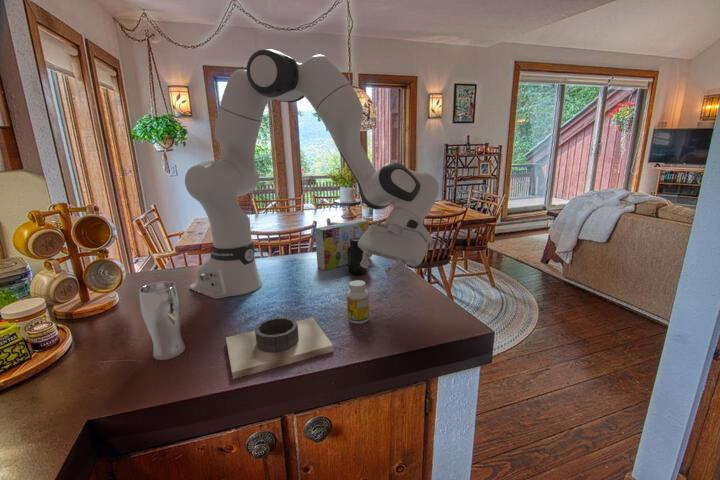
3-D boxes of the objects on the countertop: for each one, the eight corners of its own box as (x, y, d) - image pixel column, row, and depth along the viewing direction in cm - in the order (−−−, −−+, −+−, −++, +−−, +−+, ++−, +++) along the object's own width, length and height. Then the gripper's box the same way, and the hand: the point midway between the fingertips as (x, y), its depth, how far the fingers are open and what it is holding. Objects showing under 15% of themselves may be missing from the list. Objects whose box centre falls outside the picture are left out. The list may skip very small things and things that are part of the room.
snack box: (361, 255, 139) (360, 218, 135) (370, 258, 135) (369, 220, 131) (316, 267, 126) (314, 227, 122) (325, 271, 122) (323, 229, 118)
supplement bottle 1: (365, 276, 115) (364, 241, 112) (345, 275, 117) (344, 241, 114) (369, 269, 122) (368, 236, 119) (350, 268, 123) (349, 236, 120)
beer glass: (162, 365, 70) (148, 296, 66) (144, 355, 73) (130, 289, 70) (194, 348, 75) (183, 284, 72) (175, 340, 79) (164, 278, 75)
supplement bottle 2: (372, 321, 85) (372, 285, 83) (352, 326, 83) (351, 288, 81) (364, 312, 90) (363, 277, 87) (344, 316, 88) (343, 281, 85)
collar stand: (233, 379, 65) (229, 355, 63) (226, 343, 77) (223, 323, 76) (333, 351, 73) (332, 330, 72) (312, 323, 85) (311, 304, 84)
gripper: (368, 215, 97) (342, 256, 93) (427, 225, 82) (399, 274, 78) (380, 228, 101) (355, 267, 97) (438, 240, 86) (411, 287, 82)
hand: (375, 271), depth 88 cm, fingers open, 8 cm apart
